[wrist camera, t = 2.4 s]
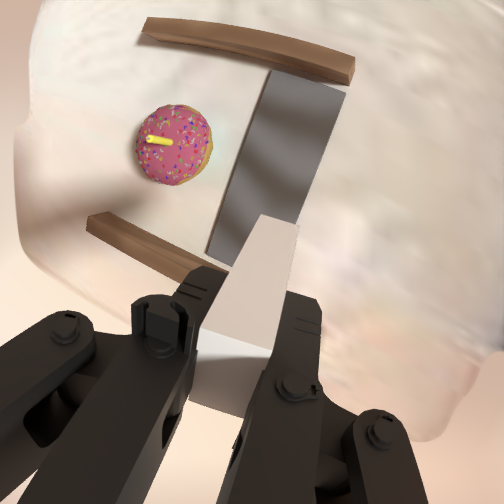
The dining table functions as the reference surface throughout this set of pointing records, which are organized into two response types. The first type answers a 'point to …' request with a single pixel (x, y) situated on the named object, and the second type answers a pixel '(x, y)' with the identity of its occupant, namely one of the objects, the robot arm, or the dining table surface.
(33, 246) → the dining table surface
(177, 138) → the cupcake
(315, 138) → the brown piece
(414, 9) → the dining table surface
